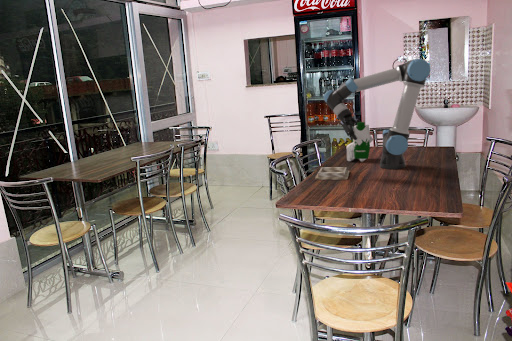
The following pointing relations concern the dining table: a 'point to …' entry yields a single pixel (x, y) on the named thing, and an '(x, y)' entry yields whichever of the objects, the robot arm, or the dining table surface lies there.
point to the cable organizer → (351, 153)
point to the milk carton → (364, 135)
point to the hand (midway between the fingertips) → (366, 142)
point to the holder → (332, 173)
